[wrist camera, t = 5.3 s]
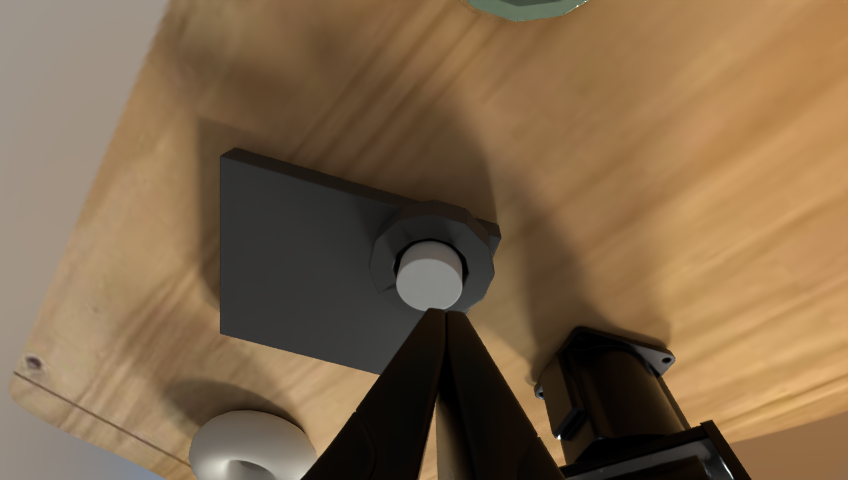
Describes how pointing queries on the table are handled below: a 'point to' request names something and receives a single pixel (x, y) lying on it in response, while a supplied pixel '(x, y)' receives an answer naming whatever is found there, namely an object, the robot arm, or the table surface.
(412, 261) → the button
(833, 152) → the table surface
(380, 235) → the scale
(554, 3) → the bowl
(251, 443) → the donut
